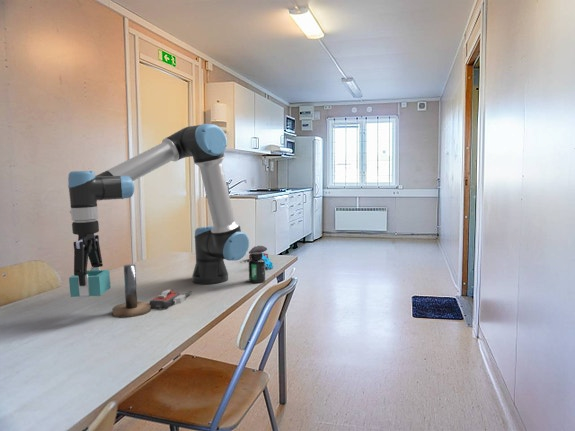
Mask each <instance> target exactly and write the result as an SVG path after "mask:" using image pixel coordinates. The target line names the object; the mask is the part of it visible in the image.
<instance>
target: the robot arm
mask: <svg viewBox="0 0 575 431" xmlns="http://www.w3.org/2000/svg"><path fill="white" fill-rule="evenodd" d="M227 146H228V138H227V136H226V132H224V129H222V128H221V127H219V125H216V124H213V123H202V124H198V125H189V126H185V127H183V128H181V129H180V130H178V131H176V132H174V133H172V134H170V135H169V136H167V137H165V138H163V139H162V140H161V143H159V144H156V145H155V146H153V147H151V148H148V149H147V150H145V151H143V152H142V153H139V154H137V155H135V156H133V157H131V158H129V159H127V160H125V161H123V162H121V163H119V164H117V165H114V166H113V167H111V168H109V169H107V170H105V171H103V172H101V173H99V174H97V175H95V171H94V170H73V171H70V172H69V173H68V177H67V178H68V179H67V180H68V182H67V183H68V185H67V186H68V193H69V202H70V203H69V204H70V211H69V213H70V214H71V215H70V216H71V220H72V222H71V228H72V234H73V235H77V236H78V238H77V241H73V251H74V252H73V253H74V254H73V275H75V276H78V282H79V294H80V296H81V297H90V296H89V295H90V294H89V281H88V274H86V273H87V271H88V262H89V263H90V265H91V267H90V269H89V270H101V269H100V268H101V267H103V259H102V254H101V252H102V251H101V246H100V239H99V234H97V233H99V232H100V226H99V225H100V224H99V221H98V220H97V219H99V212H98V201H109V200H125V199H130V198H132V197H133V195H134V193H135V182H134V181H136V180H138V179H140V178H142V177H144V176H146V175H148V174H149V173H151V172H153V171H155V170H156V169H159V168H161V167H162V166H165V165H166V164H169V163H170V162H174V163H175V162H177V161H179V160H182V159H185V158H189V157H192V160H193V162H194V165H197V166H198V167H199V170H200V175H201V178H202V182H203V187H204V192H205V195H206V199H207V204H208V208H209V212H210V216H211V221H212V225H211V226H200V227H196V228H195V231H194V243H195V245H194V247H195V265H194V267H193V268H194V269H193V272H192V275H191V277H192V278H191V279H192V283H195V284H201V285H212V284H220V283H223V282H227V281H228V280H229V272H228V269H227V267H226V263H225V261H224V260H226V261H232V262H233V261H234V262H236V261H239V260H241V259H242V258H244V257H245V256H246V254H247V252H249V247H250V239H249V237H248V235H247V234H245V232H242V230H241V226H240V223H239V222H238V221H236V219H235V216H234V211H233V207H232V202H231V197H230V194H229V189H228V185H227V180H226V176H225V171H224V167H223V163H222V162H223V160H224V159H225V154H224V153H225V151H226V149H227ZM95 234H97V235H95Z"/></svg>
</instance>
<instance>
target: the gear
mask: <svg viewBox="0 0 575 431" xmlns="http://www.w3.org/2000/svg"><path fill="white" fill-rule="evenodd" d="M261 253H262V256H263V255H264V254H263V253H264V252H261ZM262 259H264V261H265V267H266V268H267V269H269V270H272V269H273V267H274V265H273V262H272V261H271V258H270V257H268V259H267V256H266V255H265V256H263V257H262Z"/></svg>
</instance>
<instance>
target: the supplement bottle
mask: <svg viewBox="0 0 575 431" xmlns="http://www.w3.org/2000/svg"><path fill="white" fill-rule="evenodd" d="M262 253H263V252H253V253H251V259H250V260H249V261H248V281H249V282H250V284H261V283H264V282H265V283H266V266H265V261H264V259H262V257H263V256H262Z"/></svg>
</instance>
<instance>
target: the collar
mask: <svg viewBox="0 0 575 431" xmlns="http://www.w3.org/2000/svg"><path fill="white" fill-rule="evenodd" d="M86 274H88V281H89V294H90V295H89V296H88V297H96V296H97V297H99V296H102V295H103V294H104V293H106V292H107V291H108V290H109V289H111V288H112V286H111V276H110V269H100V270H91V269H89V270H87V273H86ZM68 281H69V283H68V284H69V293H70V294H69V295H70V298H74V297H75V298H76V297H82V296H80V294H79V282H78V276H75V275H74V274H73V275H71V276H69V277H68Z"/></svg>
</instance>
